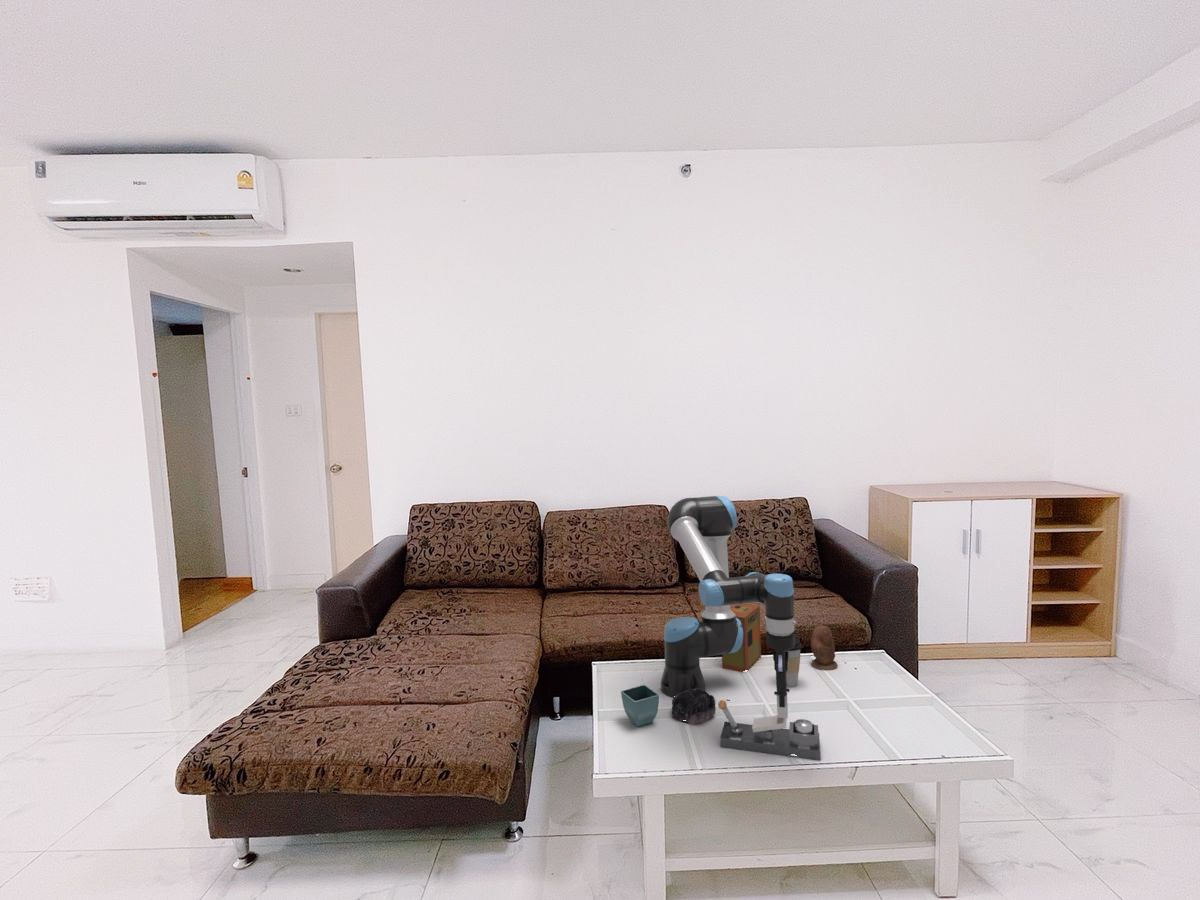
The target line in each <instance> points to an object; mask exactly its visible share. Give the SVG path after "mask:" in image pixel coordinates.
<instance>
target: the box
mask: <svg viewBox="0 0 1200 900" xmlns="http://www.w3.org/2000/svg"><path fill="white" fill-rule="evenodd" d="M730 608H731V611H733V612H734V613H735V617H736V618H738V619H739V620H740V622H741V624H742V628H743V642H742V645H741V648H740V649H739V650H738V651H737V652H735V653H730V654H727V655H724V654H723V655H721V667H722V669H723V670H728V671H729V670H730V671H734V672H739V673H743V671H745V670H748V671H749V670H751V669H752V667H754V666H755V664H757V663H758V661H759V660H760V659H761V658H762V646H761V610H760V609H761V606H760V605H758V604H757V605H755V604H751V603H742V604H732V606H730ZM760 657H761V658H760ZM759 658H760V659H759Z"/></svg>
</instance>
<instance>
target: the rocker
mask: <svg viewBox="0 0 1200 900" xmlns="http://www.w3.org/2000/svg"><path fill="white" fill-rule="evenodd" d="M787 720H788V719H787V718H778V717H777V715H770V716H764V717H763V716H761V717H756V718H755V717H754V718H753V720H752V721H753V722H752V725H753V726H752V729H753V732H760V731H767V730H775V729H782V728H783V729H787Z"/></svg>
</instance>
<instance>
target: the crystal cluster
mask: <svg viewBox="0 0 1200 900" xmlns="http://www.w3.org/2000/svg"><path fill="white" fill-rule="evenodd" d="M671 705H672V706H671V716H672V717H673V718H675V719H677V720H678V721H680V722H683V720H686V721H687V722H688V724H690V725H698V724H702V723H704V722H706V721H708V720H709V719H713V717H714V715H715V714H716V711H717V709H716V699H715V697H714V695H712V694H710V693H708V692H707V691H706V690H705V691H704V690H703V689H701V688H700V687H696V688H694V689H690V690H687V691H684V692H682V693H680V694H678V695H676V696H675V697H672V700H671Z"/></svg>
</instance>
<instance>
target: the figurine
mask: <svg viewBox="0 0 1200 900" xmlns="http://www.w3.org/2000/svg"><path fill="white" fill-rule="evenodd" d="M810 647H811V648H810V649H811V652H812V654H813V657H815V658H814V659H812V660H811V663H810V665H811V667H813V668H815V669H818V670H822V669H826V670H825V671H833V670H835V669H838V663H837V662H836V661H835V657H836V654H835V653H836V649H835V648H836V647H835V641H834V637H833V634H832V631H831V629H830V627H828V626H827V625H822V624H821V625H817V626H815V627H814V628H813V630H812V634H811V638H810ZM819 668H820V669H819Z"/></svg>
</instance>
